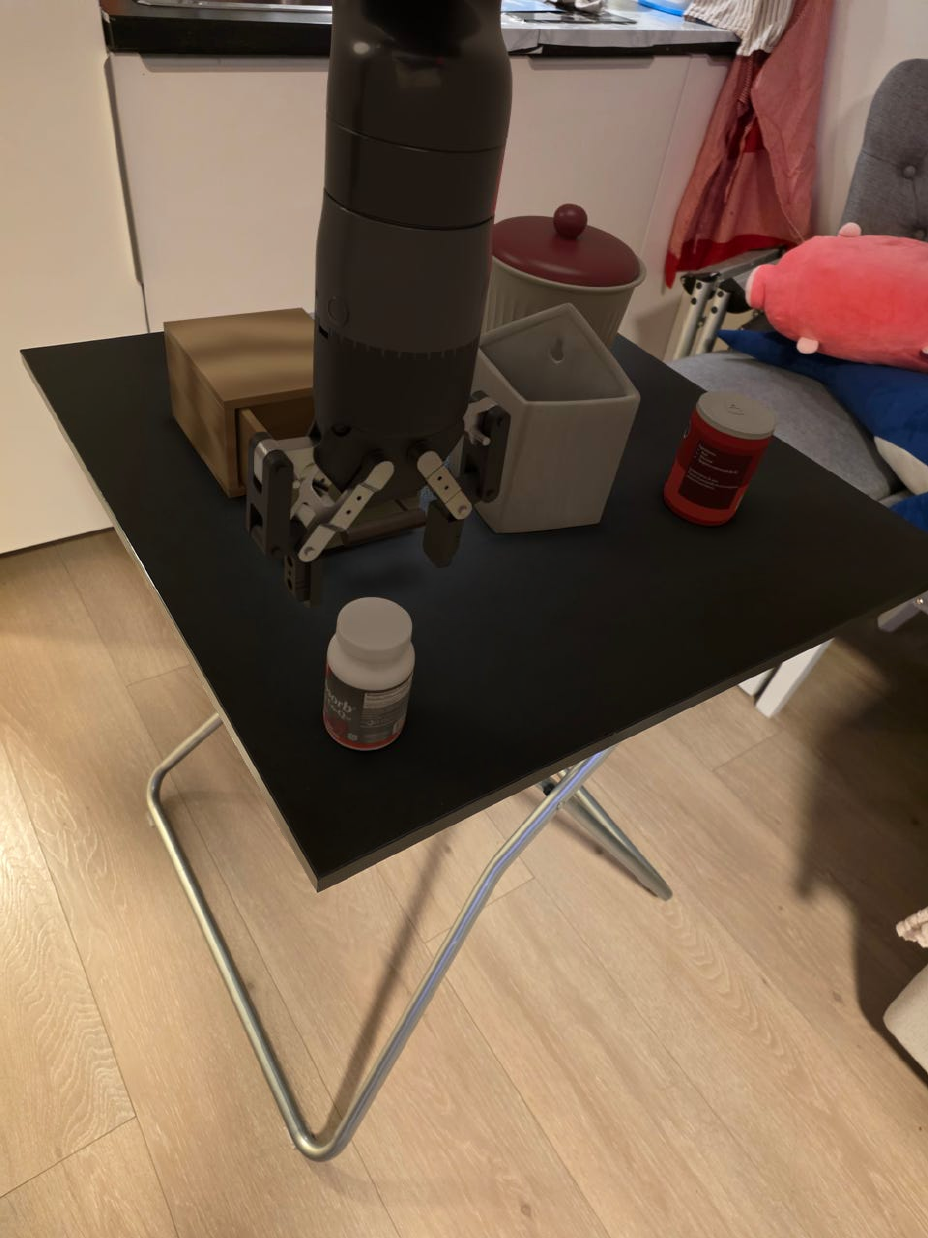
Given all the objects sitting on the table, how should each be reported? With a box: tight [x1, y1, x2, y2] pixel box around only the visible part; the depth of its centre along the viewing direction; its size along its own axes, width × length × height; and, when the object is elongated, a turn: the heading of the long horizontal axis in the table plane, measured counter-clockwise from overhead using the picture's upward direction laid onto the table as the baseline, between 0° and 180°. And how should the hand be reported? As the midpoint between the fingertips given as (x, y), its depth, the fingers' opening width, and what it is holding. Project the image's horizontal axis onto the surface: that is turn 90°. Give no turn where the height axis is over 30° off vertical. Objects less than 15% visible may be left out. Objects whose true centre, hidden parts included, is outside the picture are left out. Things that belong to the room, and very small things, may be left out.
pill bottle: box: [322, 596, 416, 751], centre depth 53 cm, size 6×6×10 cm
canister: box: [481, 203, 648, 361], centre depth 88 cm, size 18×18×21 cm
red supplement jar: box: [663, 390, 778, 527], centre depth 80 cm, size 8×8×11 cm
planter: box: [447, 303, 641, 534], centre depth 71 cm, size 16×8×19 cm, turn 67°
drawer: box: [235, 396, 427, 551], centre depth 69 cm, size 19×13×8 cm, turn 33°
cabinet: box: [162, 307, 314, 499], centre depth 76 cm, size 15×14×10 cm
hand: (374, 578), depth 47 cm, fingers open, 8 cm apart
